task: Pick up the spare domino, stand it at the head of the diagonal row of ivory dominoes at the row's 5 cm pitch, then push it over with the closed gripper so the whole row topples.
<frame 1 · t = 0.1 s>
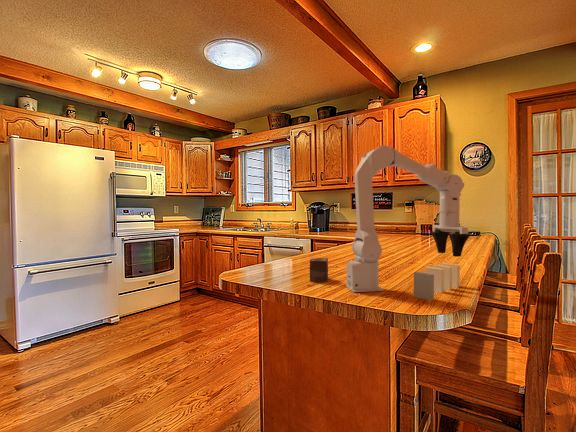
hand: (449, 254, 101), 10 cm above the table, fingers open, 7 cm apart
domino 4: (450, 285, 101), on the table
spare domino: (423, 298, 87), on the table
domino 2: (434, 290, 95), on the table
box: (319, 280, 110), on the table
domino 3: (442, 288, 98), on the table
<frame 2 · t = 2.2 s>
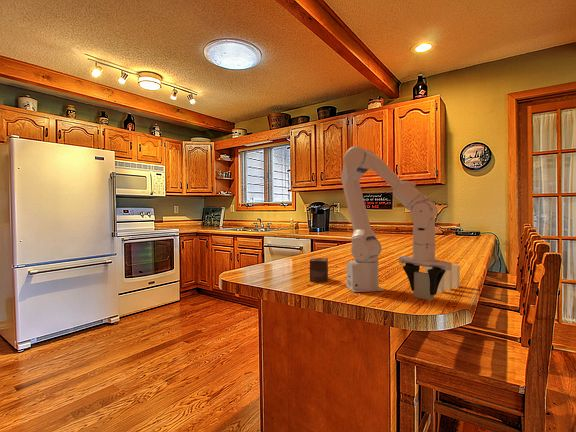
hand: (423, 292, 87), 2 cm above the table, fingers closed on spare domino, 5 cm apart
spare domino: (423, 298, 87), on the table, touching gripper
everything else where it was.
when the fingers open (2 cm above the table, at t = 5.6 s): spare domino stays where it is, on the table.
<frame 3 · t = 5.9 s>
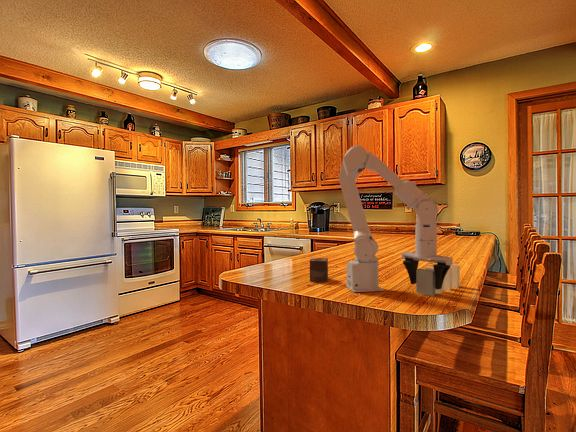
hand: (425, 286, 92), 2 cm above the table, fingers open, 7 cm apart
spare domino: (425, 293, 92), on the table
everything else where it was.
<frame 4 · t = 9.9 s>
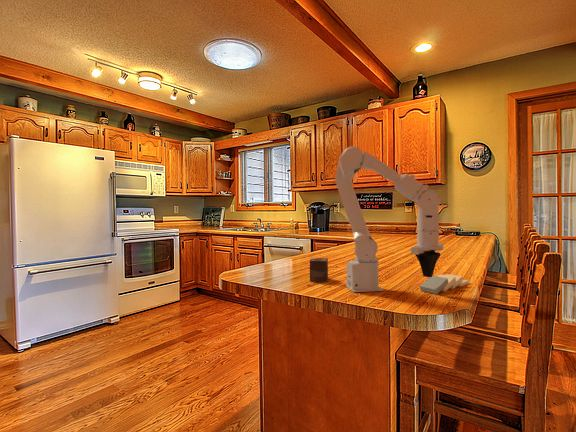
hand: (427, 276, 92), 5 cm above the table, fingers closed
domino 4: (451, 284, 101), on the table, tilted 90°
spare domino: (428, 290, 93), point 1 cm above the table, tilted 70°, touching domino 2
domino 2: (436, 287, 95), point 1 cm above the table, tilted 72°, touching domino 3, spare domino
domino 3: (444, 285, 99), point 1 cm above the table, tilted 78°, touching domino 2
everything else where it was.
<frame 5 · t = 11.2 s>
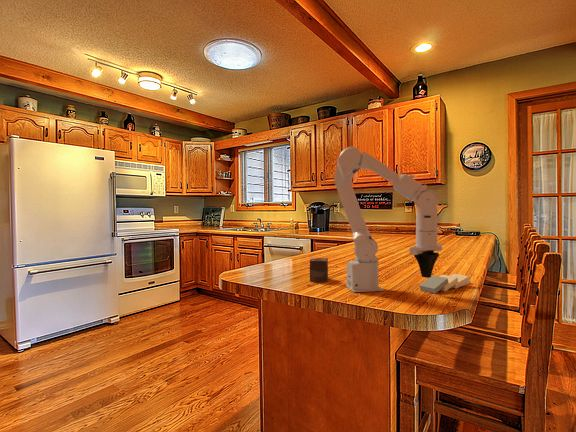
hand: (426, 277, 92), 5 cm above the table, fingers closed
domino 4: (452, 284, 102), on the table, tilted 90°, touching domino 3
domino 3: (448, 284, 99), point 1 cm above the table, tilted 77°, touching domino 2, domino 4
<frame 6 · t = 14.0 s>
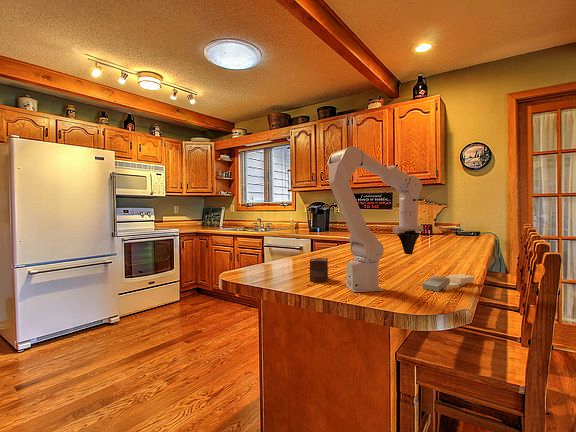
hand: (408, 254, 103), 10 cm above the table, fingers closed
domino 4: (453, 283, 103), on the table, tilted 90°, touching domino 3
spare domino: (429, 287, 95), point 1 cm above the table, tilted 77°
domino 2: (438, 287, 97), on the table, tilted 90°
domino 3: (453, 279, 101), point 2 cm above the table, tilted 90°, touching domino 4
everything else where it was.
at the end: domino 4 tilted 90°; spare domino tilted 78°; the gripper is holding nothing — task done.
